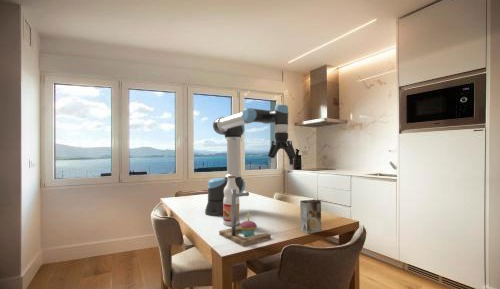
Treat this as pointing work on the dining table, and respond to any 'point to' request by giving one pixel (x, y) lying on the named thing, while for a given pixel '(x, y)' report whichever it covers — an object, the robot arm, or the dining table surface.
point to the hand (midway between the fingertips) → (281, 169)
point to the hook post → (235, 208)
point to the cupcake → (248, 227)
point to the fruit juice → (230, 201)
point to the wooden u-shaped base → (241, 240)
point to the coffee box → (310, 216)
